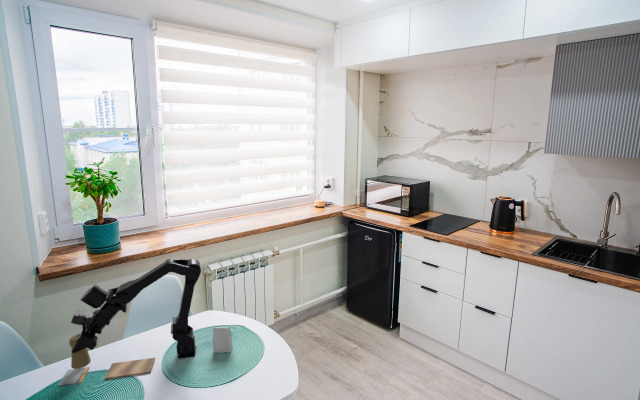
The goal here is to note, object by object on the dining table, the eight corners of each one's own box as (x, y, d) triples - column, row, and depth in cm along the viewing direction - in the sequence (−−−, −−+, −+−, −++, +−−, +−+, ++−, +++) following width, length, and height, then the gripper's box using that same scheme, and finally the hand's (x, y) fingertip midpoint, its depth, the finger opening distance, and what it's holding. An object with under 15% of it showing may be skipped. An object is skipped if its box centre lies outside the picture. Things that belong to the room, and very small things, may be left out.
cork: (81, 369, 130) (77, 342, 127) (67, 367, 131) (62, 340, 128) (94, 359, 135) (91, 332, 133) (80, 357, 136) (77, 330, 134)
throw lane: (155, 358, 144) (155, 357, 144) (150, 372, 136) (150, 371, 136) (68, 370, 137) (68, 369, 137) (57, 386, 129) (57, 384, 129)
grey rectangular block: (229, 352, 148) (228, 330, 146) (213, 352, 148) (211, 330, 146) (232, 347, 151) (231, 325, 149) (216, 346, 152) (214, 325, 150)
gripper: (89, 291, 138) (59, 324, 136) (80, 315, 121) (45, 352, 119) (115, 306, 143) (86, 338, 141) (109, 331, 126) (76, 367, 124)
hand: (74, 348), depth 131 cm, fingers closed on cork, 5 cm apart
